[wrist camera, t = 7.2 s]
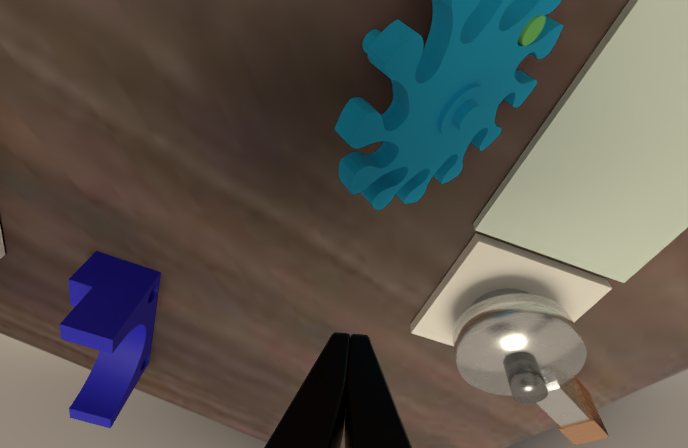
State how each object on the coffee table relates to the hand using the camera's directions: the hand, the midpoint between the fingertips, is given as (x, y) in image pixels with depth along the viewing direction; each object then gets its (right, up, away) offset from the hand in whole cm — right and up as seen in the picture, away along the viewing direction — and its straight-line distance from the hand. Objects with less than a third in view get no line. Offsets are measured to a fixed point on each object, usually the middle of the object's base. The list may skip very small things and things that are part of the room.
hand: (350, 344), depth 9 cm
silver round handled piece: (+12, -5, +16) cm, 21 cm away
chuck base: (+10, -2, +16) cm, 20 cm away
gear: (+6, +9, +10) cm, 15 cm away
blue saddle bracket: (-17, -4, +21) cm, 28 cm away
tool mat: (+14, +7, +10) cm, 18 cm away
